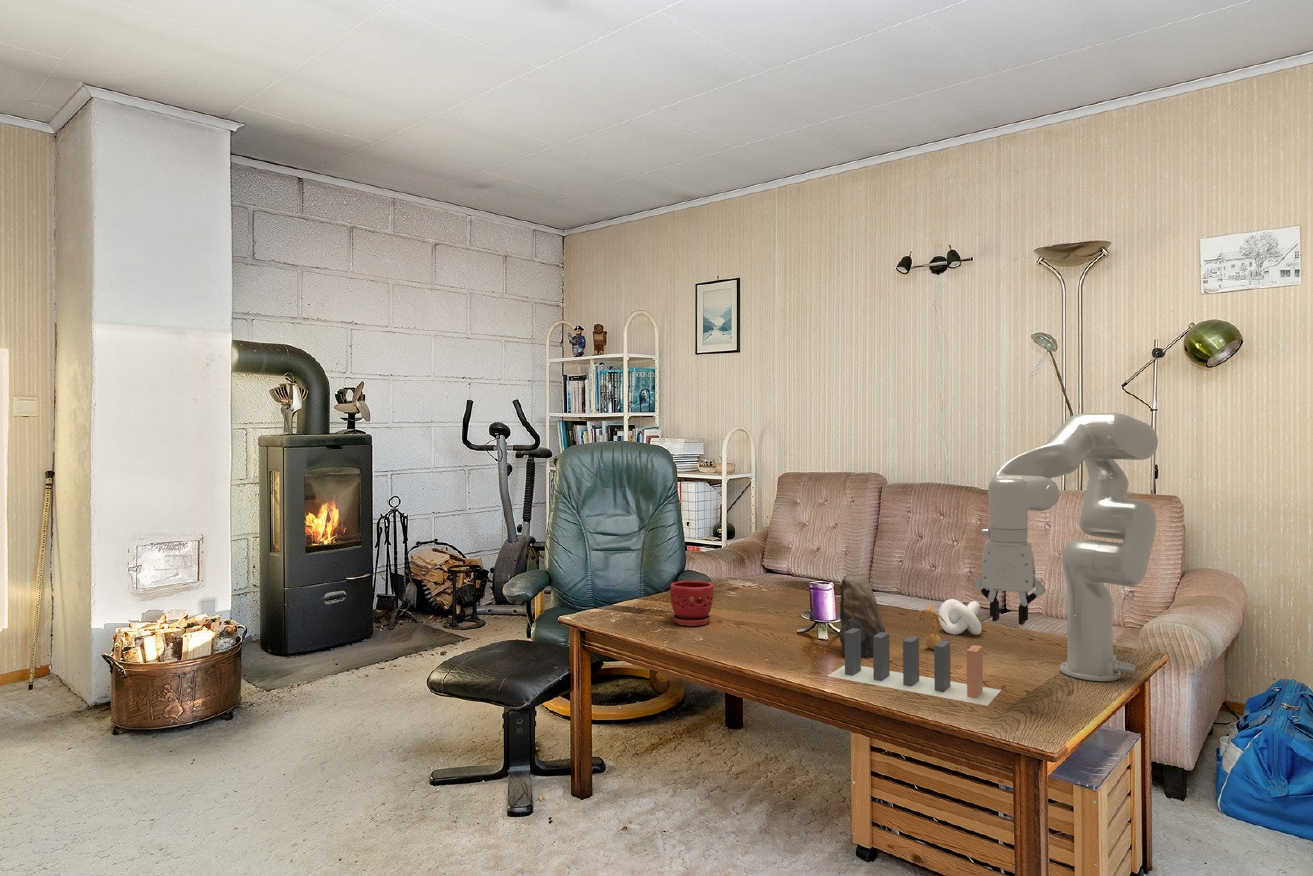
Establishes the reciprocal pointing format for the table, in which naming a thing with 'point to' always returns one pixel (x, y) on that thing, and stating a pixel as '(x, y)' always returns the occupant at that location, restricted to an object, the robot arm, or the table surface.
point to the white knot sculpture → (960, 617)
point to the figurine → (931, 638)
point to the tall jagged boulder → (859, 612)
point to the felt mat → (918, 685)
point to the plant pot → (691, 602)
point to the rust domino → (974, 671)
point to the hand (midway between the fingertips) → (1008, 621)
